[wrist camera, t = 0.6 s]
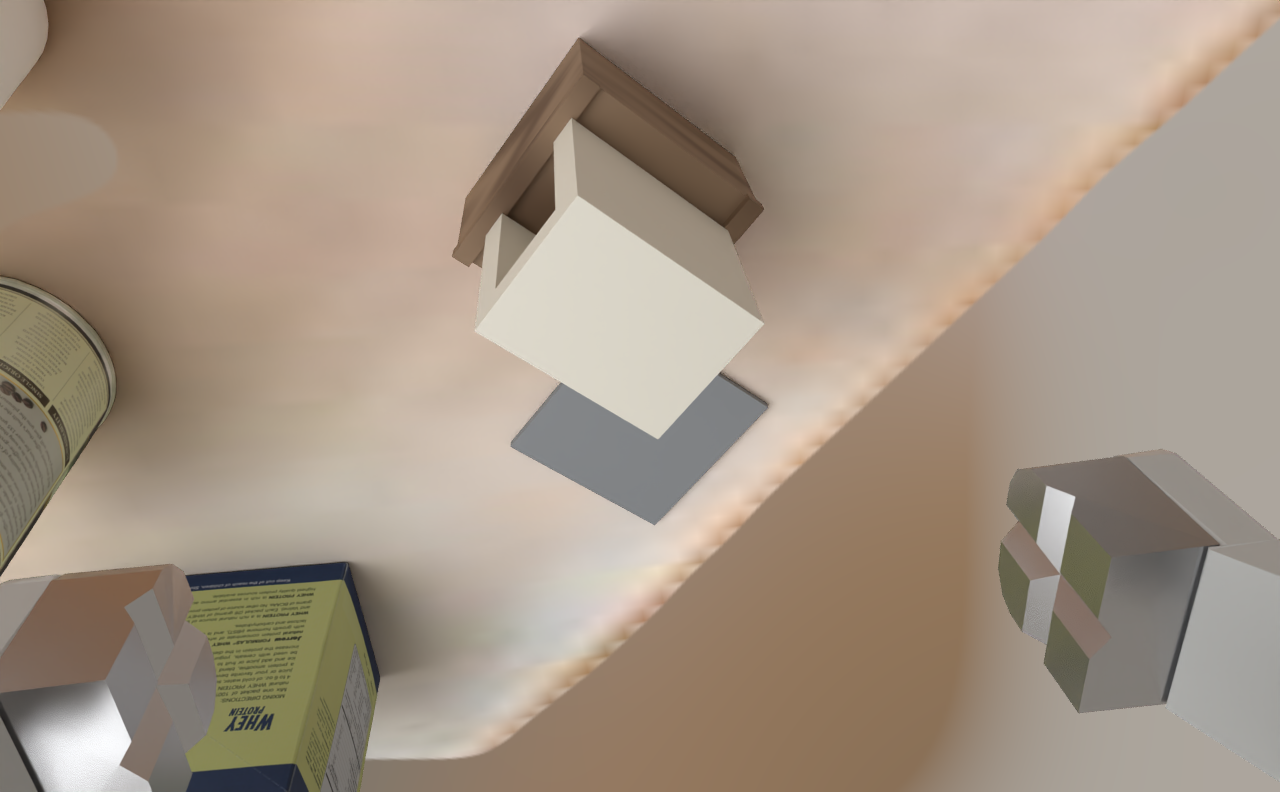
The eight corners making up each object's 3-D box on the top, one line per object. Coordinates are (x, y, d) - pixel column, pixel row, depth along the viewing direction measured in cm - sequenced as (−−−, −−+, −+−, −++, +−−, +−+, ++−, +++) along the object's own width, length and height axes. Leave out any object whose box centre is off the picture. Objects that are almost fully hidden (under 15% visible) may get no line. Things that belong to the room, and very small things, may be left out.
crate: (578, 34, 42) (583, 74, 37) (738, 156, 46) (764, 209, 40) (462, 198, 46) (451, 256, 40) (619, 300, 49) (629, 366, 44)
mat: (621, 309, 50) (621, 313, 49) (766, 403, 53) (768, 407, 53) (510, 442, 53) (510, 446, 53) (654, 520, 57) (654, 525, 57)
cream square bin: (571, 117, 38) (577, 195, 31) (728, 230, 41) (764, 323, 34) (485, 235, 40) (474, 331, 33) (640, 333, 43) (658, 439, 36)
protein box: (78, 583, 56) (-61, 829, 43) (350, 557, 57) (293, 793, 44) (138, 702, 62) (32, 952, 49) (385, 678, 63) (344, 918, 50)
